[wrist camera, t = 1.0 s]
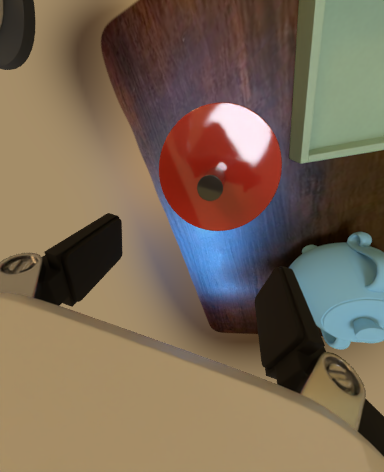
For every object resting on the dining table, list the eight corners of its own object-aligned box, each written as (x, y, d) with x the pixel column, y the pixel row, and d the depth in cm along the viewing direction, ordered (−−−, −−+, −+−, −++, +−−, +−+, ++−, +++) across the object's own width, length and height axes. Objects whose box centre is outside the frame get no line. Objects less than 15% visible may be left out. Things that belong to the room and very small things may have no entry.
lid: (142, 173, 22) (116, 184, 17) (222, 64, 15) (216, 32, 10) (212, 244, 25) (206, 269, 20) (306, 179, 18) (330, 194, 13)
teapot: (402, 275, 31) (504, 361, 19) (294, 306, 40) (318, 377, 28) (364, 208, 27) (465, 264, 15) (255, 261, 36) (264, 320, 25)
